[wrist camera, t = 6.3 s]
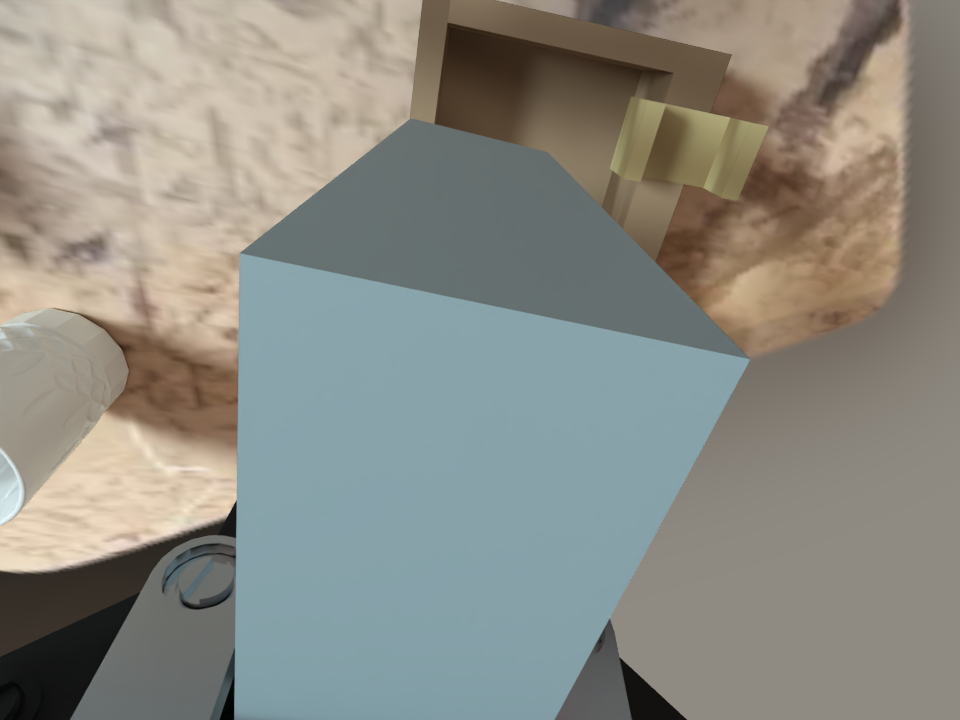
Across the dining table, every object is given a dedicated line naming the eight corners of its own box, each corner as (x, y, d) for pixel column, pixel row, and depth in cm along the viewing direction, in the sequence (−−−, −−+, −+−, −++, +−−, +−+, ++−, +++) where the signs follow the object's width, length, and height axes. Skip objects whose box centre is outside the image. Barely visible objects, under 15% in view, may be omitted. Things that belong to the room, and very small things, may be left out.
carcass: (431, -3, 23) (420, -24, 17) (712, 61, 25) (795, 62, 19) (394, 318, 31) (377, 384, 25) (609, 351, 33) (643, 421, 26)
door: (402, 116, 9) (201, 244, 2) (547, 151, 9) (750, 360, 3) (330, 607, 15) (221, 1032, 8) (419, 619, 15) (381, 1037, 9)
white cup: (137, 316, 31) (10, 418, 22) (142, 421, 34) (35, 544, 26) (-13, 283, 29) (-211, 377, 21) (9, 396, 33) (-151, 516, 24)
